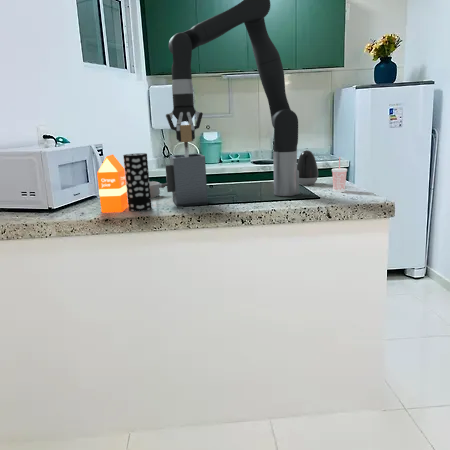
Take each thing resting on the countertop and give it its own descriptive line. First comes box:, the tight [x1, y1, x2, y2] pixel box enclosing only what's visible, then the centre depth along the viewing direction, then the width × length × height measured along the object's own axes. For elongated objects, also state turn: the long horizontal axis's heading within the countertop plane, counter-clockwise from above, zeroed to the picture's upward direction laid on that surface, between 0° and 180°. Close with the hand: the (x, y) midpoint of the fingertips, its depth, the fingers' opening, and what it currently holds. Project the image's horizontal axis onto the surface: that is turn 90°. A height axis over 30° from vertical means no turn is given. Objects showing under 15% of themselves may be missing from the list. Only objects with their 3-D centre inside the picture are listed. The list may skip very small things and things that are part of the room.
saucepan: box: [149, 181, 167, 199], centre depth 188 cm, size 12×20×6 cm, turn 98°
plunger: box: [180, 124, 193, 157], centre depth 167 cm, size 9×9×25 cm
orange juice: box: [96, 154, 129, 214], centre depth 162 cm, size 8×9×20 cm
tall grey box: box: [164, 153, 208, 208], centre depth 168 cm, size 14×12×18 cm
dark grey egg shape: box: [297, 150, 319, 186], centre depth 198 cm, size 10×10×15 cm
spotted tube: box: [122, 152, 152, 212], centre depth 161 cm, size 8×8×20 cm
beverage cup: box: [331, 156, 348, 193], centre depth 179 cm, size 6×6×14 cm
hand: (185, 140), depth 165 cm, fingers closed on plunger, 4 cm apart
